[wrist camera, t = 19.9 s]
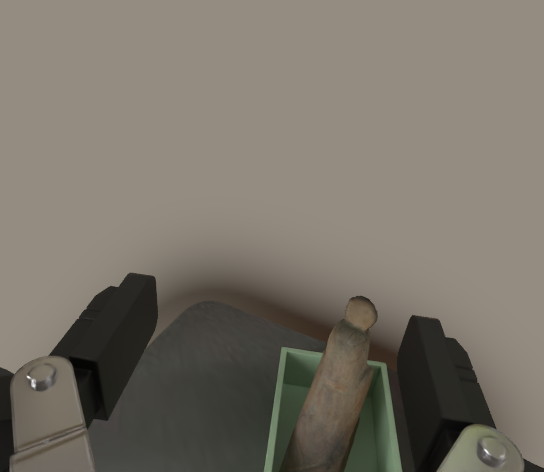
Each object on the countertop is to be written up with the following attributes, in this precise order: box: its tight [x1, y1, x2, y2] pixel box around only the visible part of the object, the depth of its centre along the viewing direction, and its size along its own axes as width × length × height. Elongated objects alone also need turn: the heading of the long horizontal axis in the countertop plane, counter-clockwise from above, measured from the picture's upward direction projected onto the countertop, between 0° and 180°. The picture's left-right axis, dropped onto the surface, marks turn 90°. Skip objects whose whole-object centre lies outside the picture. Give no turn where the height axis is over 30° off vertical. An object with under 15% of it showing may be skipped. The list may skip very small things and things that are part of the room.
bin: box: [264, 347, 402, 472], centre depth 39 cm, size 11×16×6 cm
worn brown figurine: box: [279, 296, 378, 472], centre depth 37 cm, size 12×6×18 cm, turn 148°
